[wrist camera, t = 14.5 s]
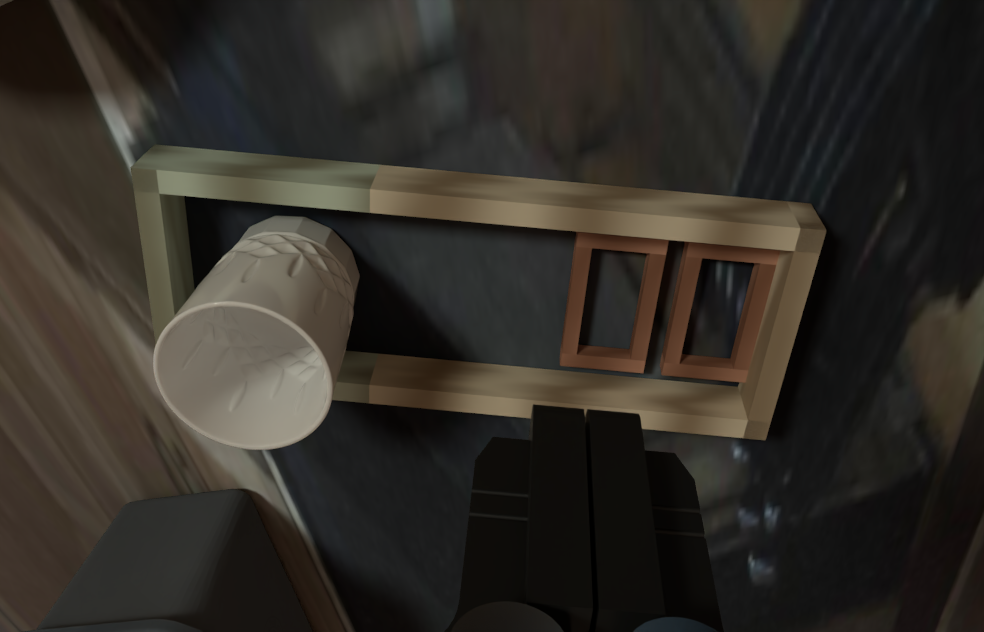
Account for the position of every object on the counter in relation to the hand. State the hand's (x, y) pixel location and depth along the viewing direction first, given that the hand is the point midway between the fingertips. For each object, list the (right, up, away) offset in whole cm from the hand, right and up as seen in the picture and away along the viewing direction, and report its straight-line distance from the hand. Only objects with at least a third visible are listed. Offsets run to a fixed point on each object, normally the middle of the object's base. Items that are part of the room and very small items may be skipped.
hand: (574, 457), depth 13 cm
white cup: (-11, +4, +36) cm, 38 cm away
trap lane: (-2, +4, +35) cm, 36 cm away
